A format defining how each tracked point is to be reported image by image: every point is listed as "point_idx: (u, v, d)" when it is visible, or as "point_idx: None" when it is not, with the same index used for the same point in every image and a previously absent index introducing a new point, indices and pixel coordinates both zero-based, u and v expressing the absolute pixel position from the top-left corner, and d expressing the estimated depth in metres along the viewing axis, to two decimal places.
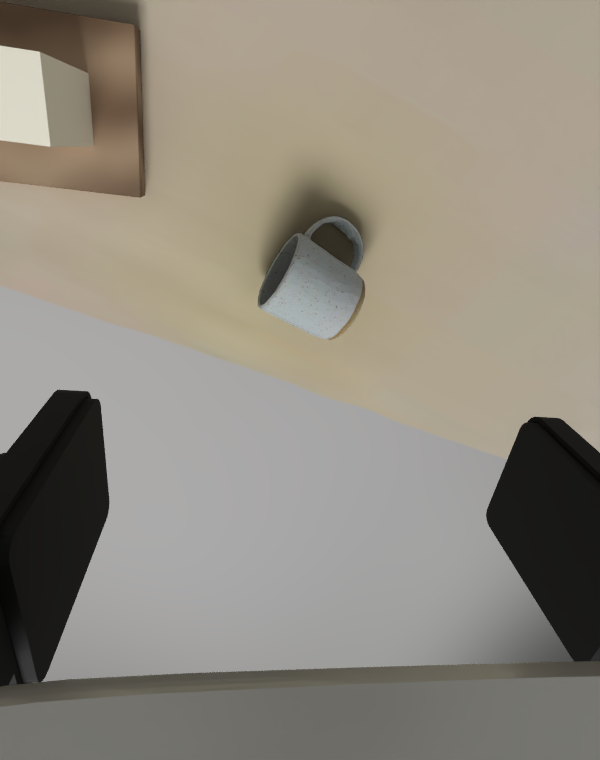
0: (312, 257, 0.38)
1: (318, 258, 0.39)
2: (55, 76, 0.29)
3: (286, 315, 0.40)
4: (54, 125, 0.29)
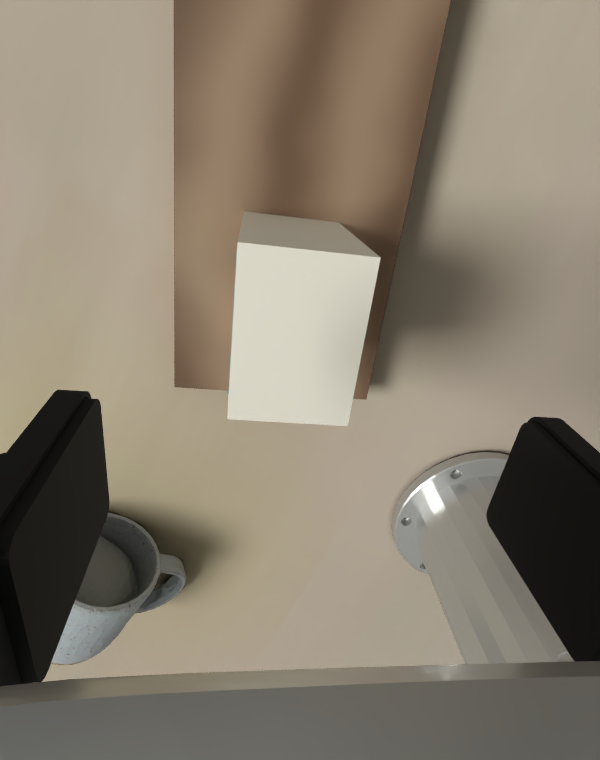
0: (131, 614, 0.30)
1: (130, 616, 0.30)
2: None
3: None
4: None
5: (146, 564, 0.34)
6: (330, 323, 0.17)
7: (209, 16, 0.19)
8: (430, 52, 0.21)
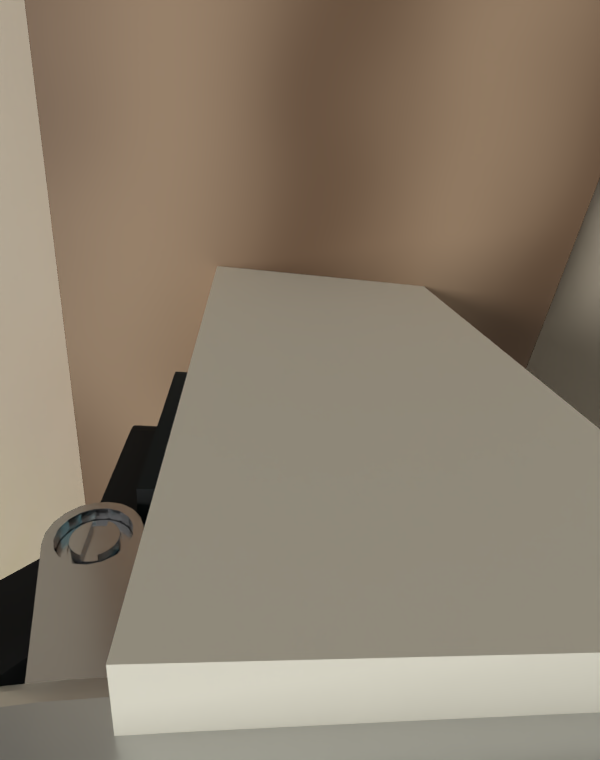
0: None
1: None
2: None
3: None
4: None
5: None
6: None
7: None
8: None
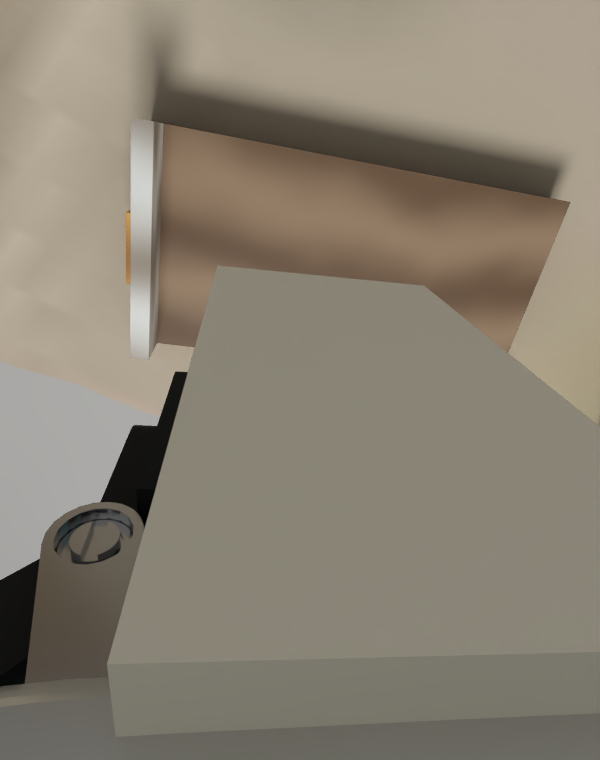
0: None
1: None
2: None
3: None
4: None
5: None
6: None
7: None
8: (254, 150, 0.23)
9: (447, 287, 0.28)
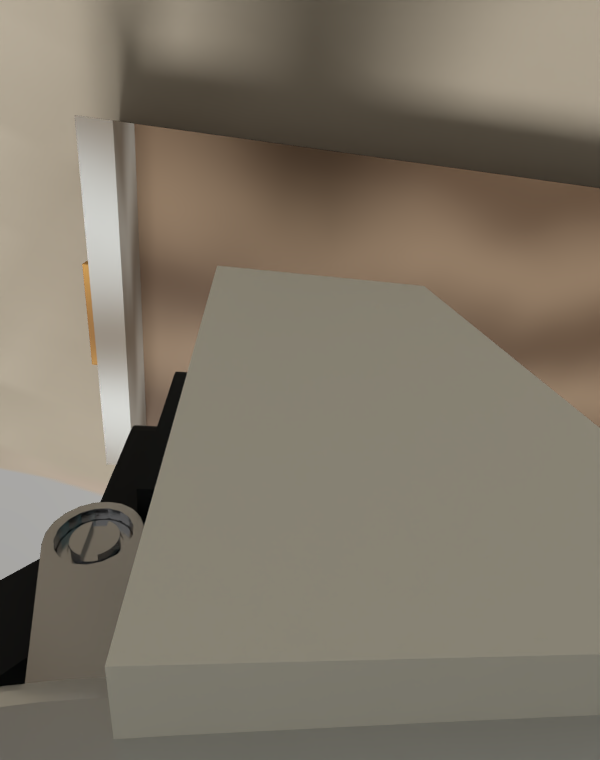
0: None
1: None
2: None
3: None
4: None
5: None
6: None
7: None
8: (274, 157, 0.15)
9: (551, 335, 0.20)
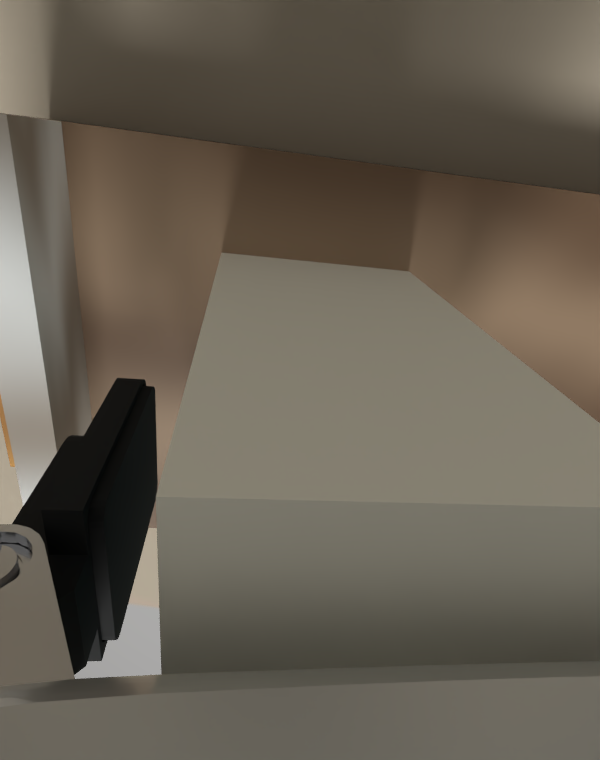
0: None
1: None
2: None
3: None
4: None
5: None
6: None
7: None
8: (271, 170, 0.11)
9: None
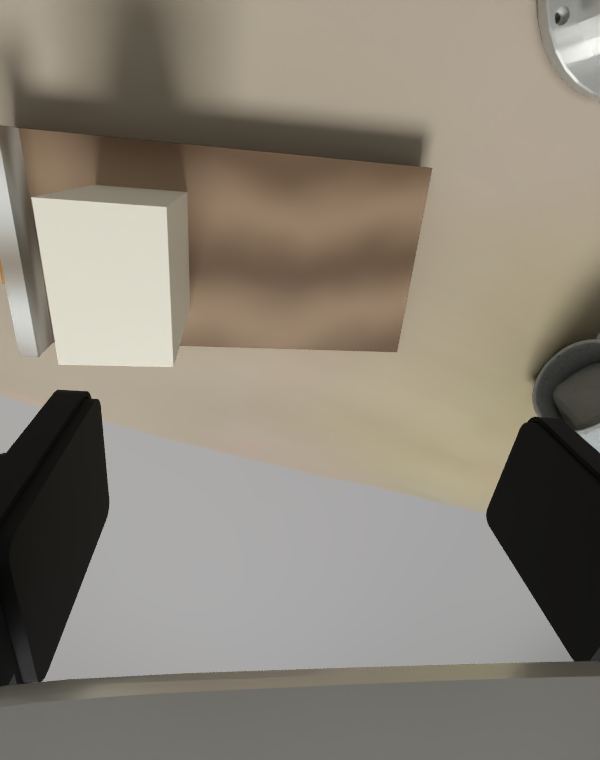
0: None
1: None
2: None
3: (598, 442, 0.33)
4: None
5: None
6: (134, 269, 0.19)
7: None
8: (112, 146, 0.24)
9: (329, 261, 0.29)
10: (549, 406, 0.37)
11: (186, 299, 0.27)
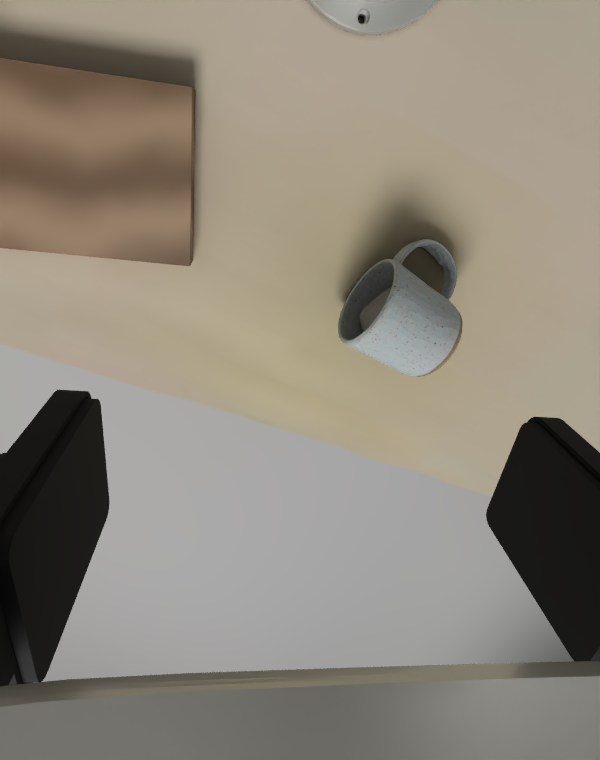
0: (411, 288, 0.34)
1: (416, 289, 0.34)
2: None
3: (376, 352, 0.36)
4: None
5: None
6: None
7: None
8: None
9: (109, 172, 0.32)
10: (356, 326, 0.40)
11: None
